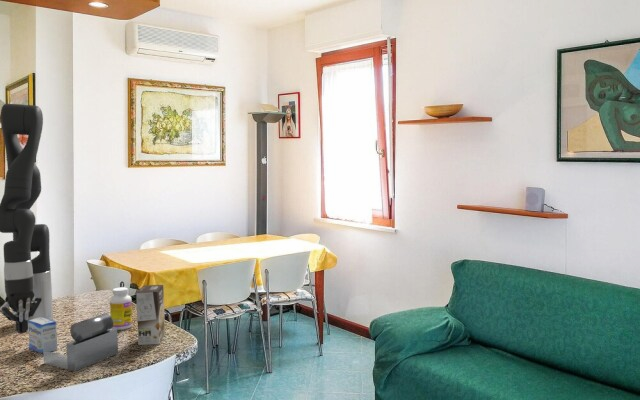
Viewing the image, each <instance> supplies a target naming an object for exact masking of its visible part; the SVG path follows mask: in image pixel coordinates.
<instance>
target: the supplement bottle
mask: <svg viewBox="0 0 640 400" xmlns="http://www.w3.org/2000/svg"><path fill="white" fill-rule="evenodd" d="M128 293H129V288H127V287H124V286H122V287H121V286H120V287H115V288H113V289H112V294H113V296H111V297H110V299H109V305H110V306H109V309H110V313H109V315H110V316H111V318H112V320H113V329H117V331H121V330H123V331H124V330H128V329H130V328H131V327H133V307H132V306H133V305H132V304H133V303H132V301H133V300H132V296H130V295H128Z"/></svg>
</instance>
